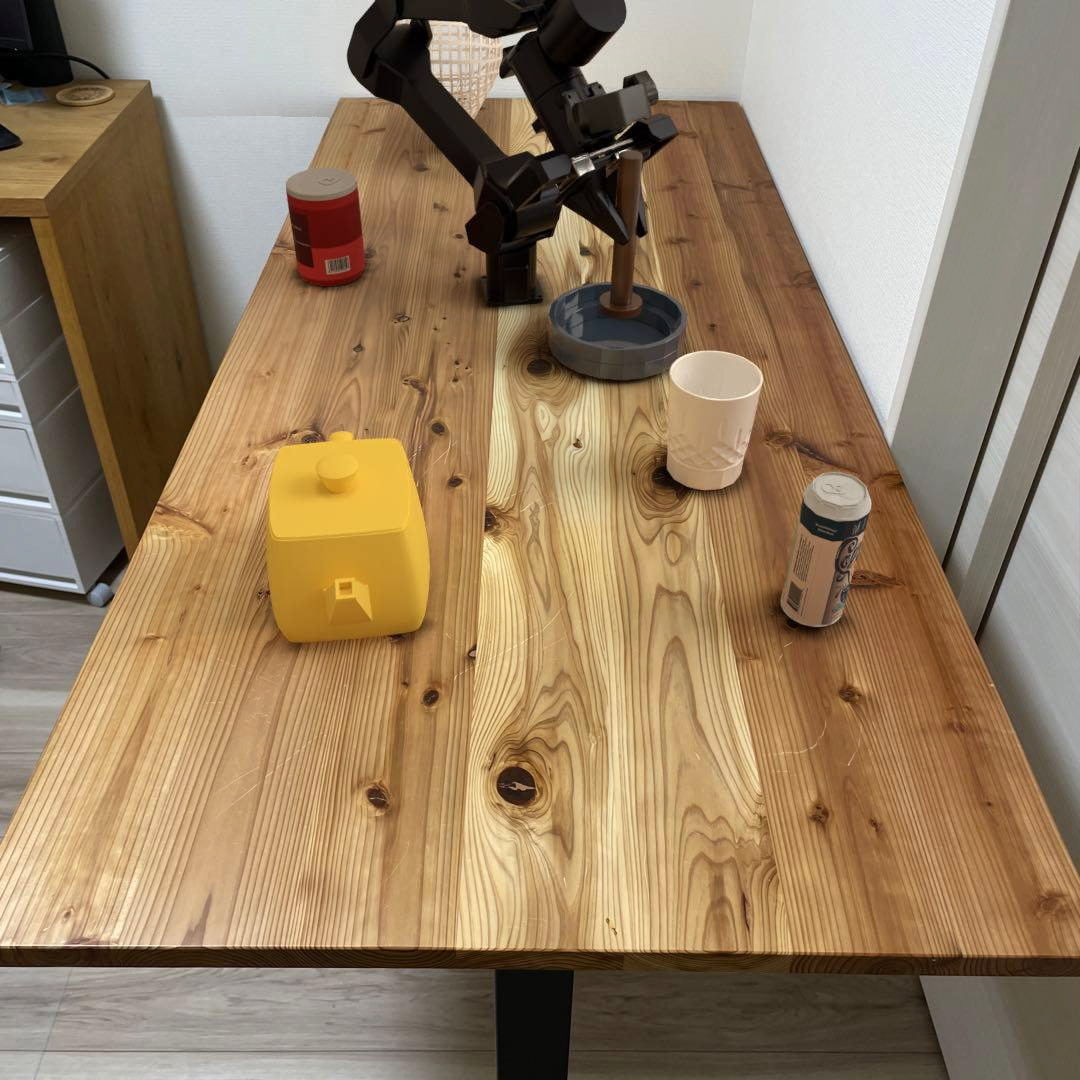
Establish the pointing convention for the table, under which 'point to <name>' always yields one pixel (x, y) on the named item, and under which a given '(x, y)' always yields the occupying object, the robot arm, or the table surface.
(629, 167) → the stirring stick
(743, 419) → the white cup
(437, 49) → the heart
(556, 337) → the bowl
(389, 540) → the teapot
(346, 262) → the canned food
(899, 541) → the table surface
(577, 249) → the table surface
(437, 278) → the table surface
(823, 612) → the beer can
